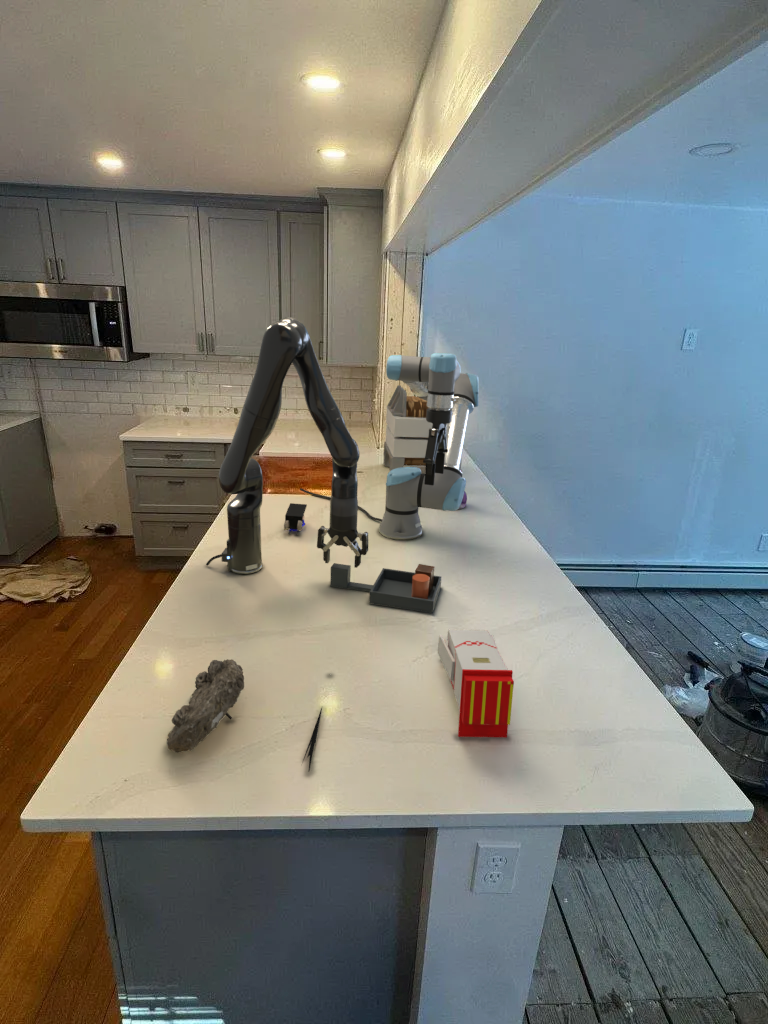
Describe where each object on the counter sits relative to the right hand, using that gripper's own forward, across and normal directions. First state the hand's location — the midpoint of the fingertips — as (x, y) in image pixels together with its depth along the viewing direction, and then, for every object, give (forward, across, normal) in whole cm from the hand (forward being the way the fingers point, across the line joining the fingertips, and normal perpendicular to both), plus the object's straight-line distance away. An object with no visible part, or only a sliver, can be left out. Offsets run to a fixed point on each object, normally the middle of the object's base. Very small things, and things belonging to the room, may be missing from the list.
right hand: (434, 478), depth 172 cm
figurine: (+27, +55, +1) cm, 61 cm away
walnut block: (+26, -23, -4) cm, 35 cm away
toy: (+27, -62, -23) cm, 72 cm away
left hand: (+20, -27, +19) cm, 39 cm away
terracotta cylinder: (+26, -29, -4) cm, 39 cm away
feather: (+27, -81, +2) cm, 85 cm away
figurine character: (+27, +6, +49) cm, 56 cm away
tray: (+27, -27, +7) cm, 38 cm away
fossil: (+27, -87, +22) cm, 94 cm away
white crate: (+27, +96, +27) cm, 104 cm away
